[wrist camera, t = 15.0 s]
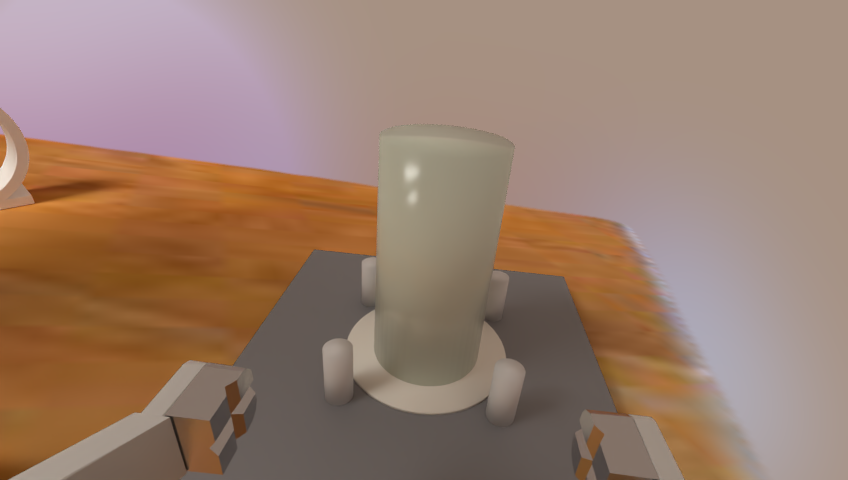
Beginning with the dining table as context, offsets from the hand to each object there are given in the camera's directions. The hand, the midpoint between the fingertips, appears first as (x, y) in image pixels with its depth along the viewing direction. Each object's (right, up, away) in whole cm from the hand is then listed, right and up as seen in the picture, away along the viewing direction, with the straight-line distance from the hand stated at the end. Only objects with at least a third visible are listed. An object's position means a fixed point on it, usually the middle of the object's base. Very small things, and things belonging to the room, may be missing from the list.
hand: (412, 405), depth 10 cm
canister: (0, -2, +14) cm, 14 cm away
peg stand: (0, -4, +14) cm, 15 cm away
